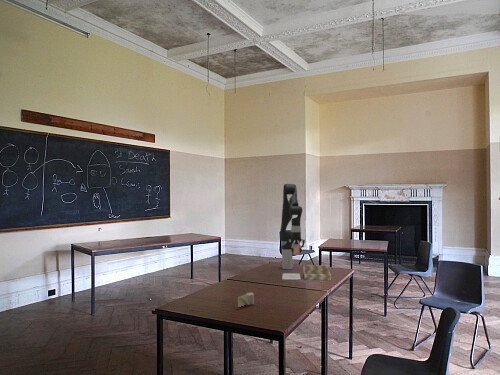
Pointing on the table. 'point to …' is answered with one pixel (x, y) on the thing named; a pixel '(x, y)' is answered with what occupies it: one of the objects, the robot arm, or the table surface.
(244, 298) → the model
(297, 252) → the terracotta pot
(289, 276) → the grey mat
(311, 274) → the frame
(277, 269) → the table surface
